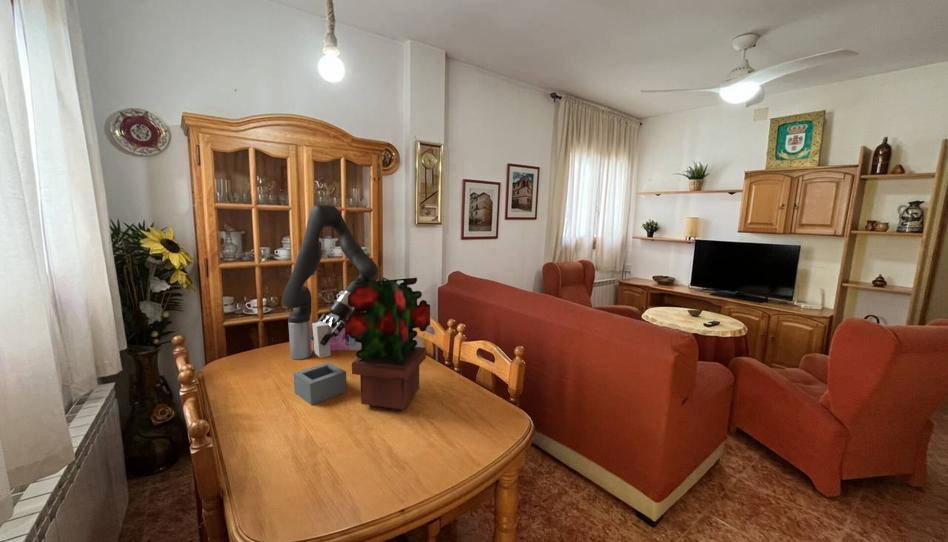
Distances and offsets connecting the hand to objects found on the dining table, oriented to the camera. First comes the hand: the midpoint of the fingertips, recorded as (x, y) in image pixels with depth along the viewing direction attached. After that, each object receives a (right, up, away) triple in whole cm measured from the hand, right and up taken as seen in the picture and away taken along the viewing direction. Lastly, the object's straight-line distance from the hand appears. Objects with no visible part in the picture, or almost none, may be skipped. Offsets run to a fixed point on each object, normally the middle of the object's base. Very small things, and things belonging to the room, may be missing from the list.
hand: (317, 341), depth 136 cm
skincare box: (+1, -5, +2) cm, 6 cm away
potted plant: (+28, -21, -2) cm, 35 cm away
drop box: (0, -20, +3) cm, 20 cm away
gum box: (-3, -13, +49) cm, 51 cm away
